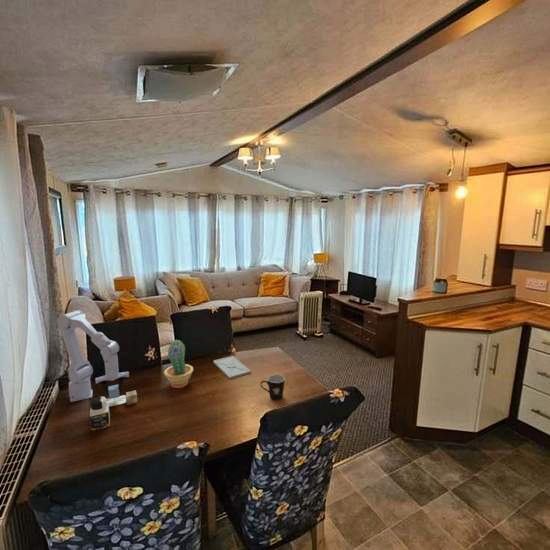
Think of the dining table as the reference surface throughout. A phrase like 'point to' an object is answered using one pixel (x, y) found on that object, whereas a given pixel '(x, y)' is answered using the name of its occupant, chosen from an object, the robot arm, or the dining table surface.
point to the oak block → (131, 397)
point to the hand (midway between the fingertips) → (114, 392)
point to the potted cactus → (178, 365)
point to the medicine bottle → (99, 413)
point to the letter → (116, 400)
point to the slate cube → (113, 391)
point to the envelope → (231, 367)
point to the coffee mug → (275, 386)
